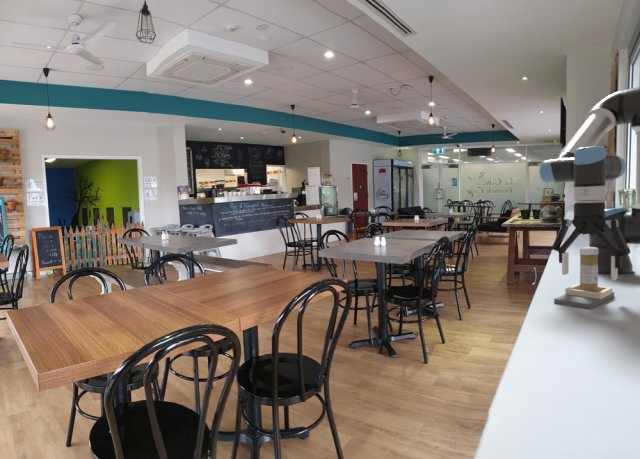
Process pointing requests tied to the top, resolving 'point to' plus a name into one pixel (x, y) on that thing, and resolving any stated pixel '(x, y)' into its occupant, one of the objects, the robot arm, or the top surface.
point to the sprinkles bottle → (589, 269)
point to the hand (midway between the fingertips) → (588, 276)
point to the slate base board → (584, 297)
